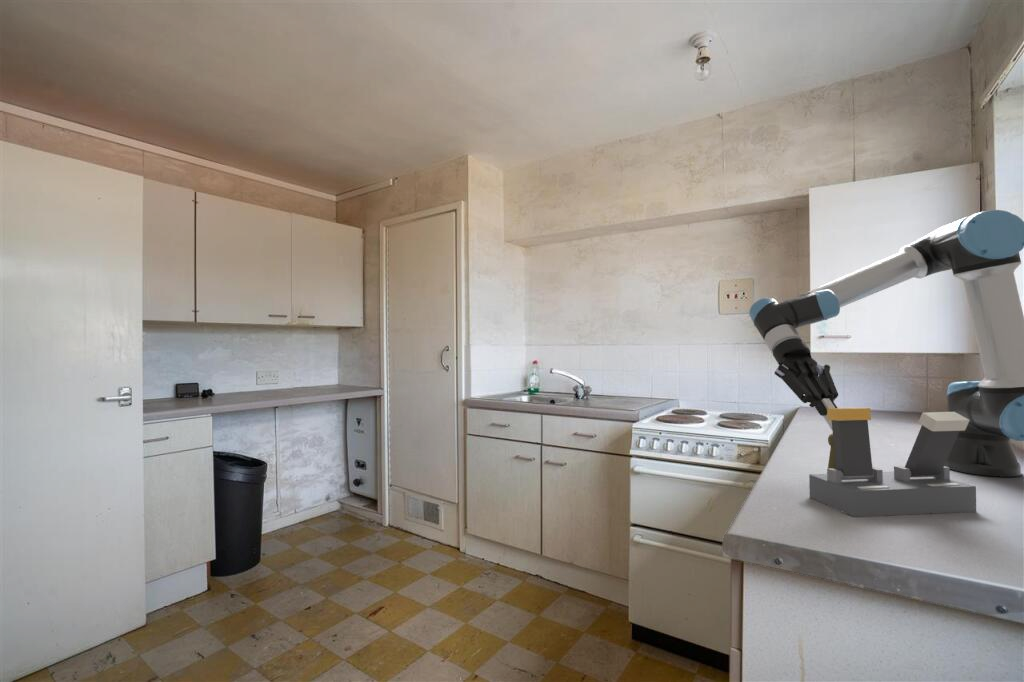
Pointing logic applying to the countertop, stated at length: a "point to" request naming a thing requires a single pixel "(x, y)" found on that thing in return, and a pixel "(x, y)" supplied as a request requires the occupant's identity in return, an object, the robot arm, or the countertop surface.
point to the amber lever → (851, 442)
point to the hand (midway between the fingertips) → (838, 426)
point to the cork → (831, 453)
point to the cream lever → (934, 442)
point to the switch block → (893, 493)
